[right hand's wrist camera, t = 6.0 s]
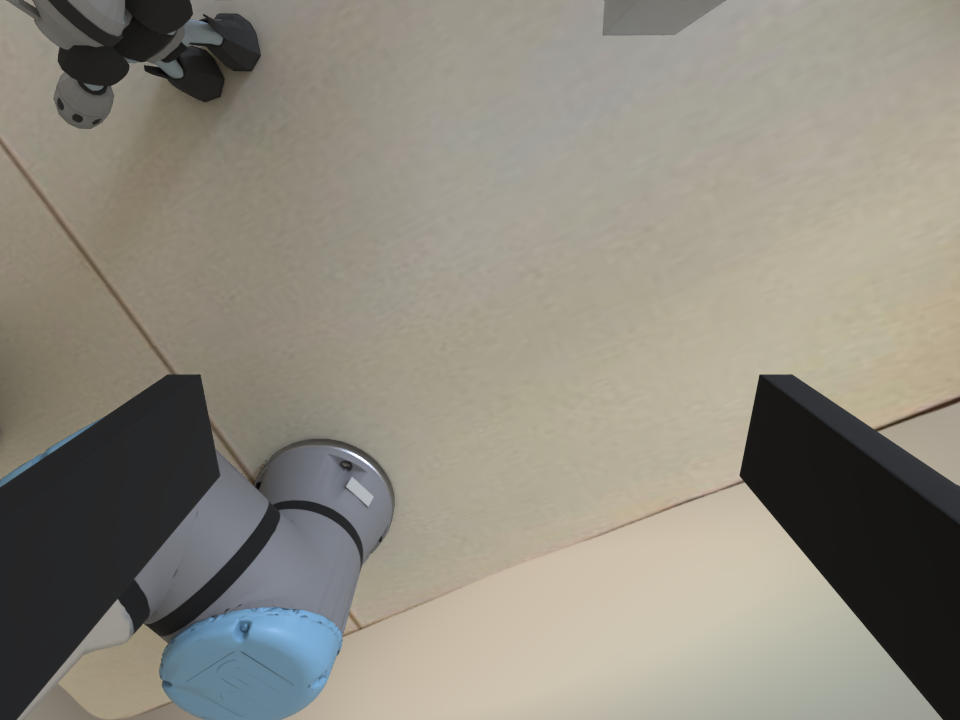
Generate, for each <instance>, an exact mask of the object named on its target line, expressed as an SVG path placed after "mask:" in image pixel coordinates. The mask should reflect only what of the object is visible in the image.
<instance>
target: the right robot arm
mask: <svg viewBox="0 0 960 720" xmlns="http://www.w3.org/2000/svg"><path fill="white" fill-rule="evenodd" d="M740 477H741V478H742V479H743V481H744V482H745V483H746V484H747V485H748V487H749V488H750V489H751V490H752V491H753V493H754V494H755V495H756V496H757V497H758V498H759V500H760V501H761V502H762V503H763V505H764V506H765V507H766V508H767V509H768V510H769V512H770V513H771V514H772V515H773V517H774V518H775V519H776V520H777V521H778V523H779V524H780V525H781V526H782V527H783V529H784V530H785V531H786V532H787V533H788V534H789V536H790V537H791V538H792V539H793V540H794V542H795V543H796V544H797V545H798V546H799V548H800V549H801V550H802V551H803V552H804V554H805V555H806V556H807V557H808V558H809V560H810V561H811V562H812V563H813V564H814V566H815V567H816V568H817V569H818V570H819V572H820V573H821V574H822V575H823V576H824V578H825V579H826V580H827V581H828V582H829V584H830V585H831V586H832V587H833V588H834V590H835V591H836V592H837V593H838V594H839V596H840V597H841V598H842V599H843V600H844V602H845V603H846V604H847V605H848V606H849V608H850V609H851V610H852V611H853V612H854V614H855V615H856V616H857V617H858V618H859V619H860V621H861V622H862V623H863V624H864V625H865V627H866V628H867V629H868V630H869V632H870V633H871V634H872V635H873V636H874V638H875V639H876V640H877V641H878V642H879V643H880V645H881V646H882V647H883V648H884V649H885V651H886V652H887V653H888V654H889V655H890V657H891V658H892V659H893V660H894V661H895V663H896V664H897V665H898V666H899V667H900V669H901V670H902V671H903V672H904V673H905V675H906V676H907V677H908V678H909V679H910V681H911V682H912V683H913V684H914V685H915V687H916V688H917V689H918V690H919V691H920V693H921V694H922V695H923V696H924V697H925V698H926V700H927V701H928V702H929V703H930V705H931V706H932V707H933V708H934V709H935V711H936V712H937V713H938V714H939V715H940V717H941V718H942V719H943V720H960V486H958V485H956V484H954V483H953V482H951V481H950V480H948V479H947V478H945V477H944V476H942V475H941V474H939V473H938V472H936V471H935V470H934V469H932V468H930V467H929V466H927V465H926V464H925V463H923V462H922V461H920V460H919V459H917V458H916V457H914V456H913V455H911V454H910V453H908V452H907V451H905V450H904V449H902V448H901V447H899V446H898V445H896V444H895V443H893V442H892V441H890V440H889V439H887V438H886V437H884V436H883V435H881V434H880V433H878V432H877V431H875V430H874V429H872V428H871V427H869V426H868V425H867V424H865V423H864V422H862V421H861V420H859V419H858V418H856V417H855V416H853V415H852V414H850V413H849V412H847V411H846V410H844V409H843V408H841V407H840V406H838V405H837V404H835V403H834V402H832V401H831V400H829V399H828V398H826V397H825V396H823V395H822V394H820V393H819V392H817V391H816V390H814V389H813V388H811V387H810V386H808V385H807V384H805V383H804V382H802V381H801V380H800V379H798V378H797V377H795V376H794V375H759V380H758V385H757V390H756V395H755V400H754V406H753V411H752V416H751V421H750V426H749V431H748V436H747V441H746V446H745V451H744V456H743V461H742V466H741V471H740ZM394 505H395V500H394V492H393V488H392V485H391V482H390V480H389V478H388V476H387V475H386V473H385V471H384V470H383V469H382V467H381V466H380V465H379V464H378V463H377V462H376V461H375V460H374V459H373V458H372V457H370V456H369V455H368V454H366V453H365V452H363V451H362V450H360V449H358V448H356V447H354V446H352V445H349V444H347V443H343V442H340V441H335V440H329V439H311V440H304V441H300V442H297V443H293V444H291V445H289V446H287V447H285V448H283V449H281V450H280V451H278V452H277V453H276V454H275V455H273V456H272V457H271V458H270V460H269V461H268V462H267V463H266V465H265V466H264V467H263V469H262V470H261V472H260V473H259V475H258V476H257V478H256V480H255V483H254V486H253V485H252V484H251V483H250V482H249V481H248V480H247V479H246V478H245V477H244V476H243V475H242V474H241V473H240V472H239V471H238V470H237V469H236V468H235V467H234V466H232V465H231V464H230V463H229V462H228V461H227V460H226V459H225V458H224V457H223V456H222V455H221V454H220V453H219V452H218V451H217V450H216V449H215V446H214V441H213V436H212V431H211V426H210V421H209V416H208V411H207V406H206V400H205V395H204V390H203V385H202V380H201V375H166V376H165V377H163V378H162V379H160V380H159V381H158V382H156V383H155V384H153V385H152V386H150V387H149V388H147V389H146V390H144V391H143V392H141V393H140V394H138V395H137V396H135V397H134V398H132V399H131V400H129V401H128V402H126V403H125V404H123V405H122V406H120V407H119V408H117V409H116V410H114V411H113V412H111V413H110V414H108V415H107V416H105V417H103V418H101V419H99V420H97V421H96V422H94V423H92V424H90V425H88V426H86V427H84V428H83V429H81V430H79V431H77V432H75V433H74V434H72V435H70V436H68V437H67V438H65V439H63V440H61V441H60V442H58V443H57V444H55V445H53V446H52V447H50V448H48V449H47V450H46V451H45V452H44V453H43V454H40V455H38V456H36V457H35V458H34V459H32V460H30V461H28V462H27V463H25V464H23V465H21V466H19V467H18V468H16V469H15V470H14V471H12V472H11V473H9V474H8V475H6V476H5V477H4V478H2V479H1V480H0V720H24V719H25V718H26V717H27V715H28V714H29V713H30V712H31V711H32V710H33V709H34V708H35V707H36V706H37V705H38V704H39V703H40V701H41V700H42V699H43V698H44V697H45V696H46V695H47V694H48V693H49V692H50V691H51V689H52V688H53V687H54V686H55V685H56V684H57V683H58V682H59V681H60V680H61V679H62V678H63V676H64V675H65V674H66V673H67V672H68V671H69V670H70V669H71V668H72V667H73V666H74V665H75V663H76V662H77V661H78V660H79V659H80V658H81V657H82V656H83V655H85V654H87V653H90V652H92V651H96V650H100V649H104V648H108V647H112V646H117V645H121V644H124V643H126V642H127V641H128V640H129V639H130V638H131V637H132V636H133V634H134V633H135V632H136V631H137V630H138V629H139V628H140V626H141V625H142V624H143V623H144V624H145V625H146V626H148V627H149V628H150V629H151V630H153V631H154V632H155V633H156V634H158V635H159V636H160V637H161V638H162V639H164V640H165V641H166V642H167V643H168V645H167V646H166V648H165V649H164V653H163V654H162V659H161V664H160V670H159V674H160V678H161V679H162V680H163V682H162V687H163V690H164V691H165V693H166V695H167V696H168V697H169V698H170V699H171V700H172V701H173V702H174V703H175V704H176V705H177V706H179V707H180V708H181V709H183V710H184V711H186V712H188V713H190V714H192V715H194V716H196V717H199V718H201V719H204V720H281V719H284V718H287V717H289V716H291V715H293V714H295V713H297V712H299V711H300V710H302V709H304V708H305V707H306V706H308V705H309V704H310V703H311V702H312V701H313V700H314V699H315V698H316V697H317V696H318V695H319V694H320V692H321V691H322V689H323V688H324V686H325V684H326V682H327V680H328V678H329V675H330V672H331V670H332V667H333V664H334V662H335V659H336V656H337V655H338V654H339V652H340V650H341V647H342V641H343V639H342V637H343V633H344V629H345V626H346V622H347V618H348V614H349V611H350V607H351V603H352V599H353V596H354V592H355V588H356V584H357V581H358V577H359V574H360V570H361V567H362V565H363V564H364V563H365V561H366V560H367V559H368V557H369V555H370V554H371V553H372V552H373V551H374V550H375V549H376V548H377V547H378V546H379V545H380V543H381V542H382V541H383V539H384V538H385V536H386V534H387V532H388V530H389V528H390V525H391V521H392V517H393V513H394Z"/></svg>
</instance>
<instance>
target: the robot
mask: <svg viewBox="0 0 960 720" xmlns="http://www.w3.org/2000/svg"><path fill="white" fill-rule="evenodd" d="M7 1H8V2H10V3H11V4H13V5H14V6H16V7H17V8H19V9H20V10H22V11H23V12H25V13H27V14H28V15H30V16H31V17H33V18H34V21H35V24H36V25H37V27H38V28H39V30H40V31H41V32H42V33H43V34H44V35H45V36H46V37H47V38H48V39H50V40H51V41H52V42H53V43H55V44H56V45H57V46H59V47H60V48H59V54H58V63H59V64H60V66H61V68H62V70H63V71H64V72H65V73H63V74H62V75H61V77H60V79H59V82H58V84H57V87H56V90H55V95H54V101H55V104H56V107H57V110H58V113H59V115H60V116H61V117H62V118H63V119H64V120H65V121H66V122H67V123H68V124H70V125H73V126H75V127H77V128H79V129H91V128H93V127H95V126H97V125H98V124H100V123H102V122H103V121H104V119H105V118H106V117H107V116H108V114H109V113H110V110H111V107H112V104H113V98H114V94H113V91H112V88H111V86H112V85H114V84H116V83H118V82H119V81H120V80H121V79H123V78H124V77H125V76H126V75H127V73H128V71H129V64H128V63H137V62H145V61H147V62H150V63H154V64H156V65H158V66H159V67H153V66H146V65H144V69H145V71H146V72H148V73H150V74H153V75H156V76H159V77H163V78H166V79H168V81H169V82H170V83H171V84H172V85H173V86H175V87H176V88H178V89H179V90H181V91H183V92H185V93H187V94H189V95H190V96H192V97H194V98H196V99H198V100H201V101H203V102H207V101H210V100H212V99H215V98H218V97H221V92H222V88H223V83H224V77H223V75H222V73H221V71H220V69H219V67H218V66H217V64H216V62H215V60H214V58H213V57H212V56H211V55H210V54H209V53H208V52H207V51H206V50H203V49H200V48H197V47H194V46H189V47H187V46H188V45H189V44H190V45H198V46H206V47H207V48H208V49H209V50H210V51H211V52H212V53H213V54H214V55H215V56H216V57H217V58H218V59H219V60H220V61H221V62H222V63H223V64H224V65H226V66H227V67H228V68H230V69H232V70H233V71H252V70H253V68H254V66H255V65H256V63H257V61H258V60H259V58H260V56H261V55H260V50H259V45H258V40H257V35H256V32H255V31H254V29H253V27H252V25H251V23H249V22H248V21H247V20H245V19H244V18H243V17H241V16H240V15H239V14H217V16H216V17H215V19H212V18H210V17H208V16H206V15H205V14H203V16H204V17H206V18H205V19H201V20H199V21H198V20H193V19H190V18H191V16H192V15H193V12H192V5H191V3H190V0H33V2H34V4H35V6H36V8H35V7H33V6H32V5H30V4H29V3H27V2H25V1H24V0H7Z"/></svg>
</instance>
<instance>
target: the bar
mask: <svg viewBox="0 0 960 720" xmlns="http://www.w3.org/2000/svg"><path fill="white" fill-rule="evenodd" d="M724 1H726V0H605V4H604V20H603V35H675V34H677V33H678V32H680V31H681V30H683V29H684V28H686V27H687V26H689V25H690V24H692V23H693V22H695V21H696V20H698V19H699V18H701V17H702V16H703V15H705V14H706V13H708V12H709V11H711V10H712V9H714V8H715V7H717V6H718V5H720V4H721V3H723V2H724Z"/></svg>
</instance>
